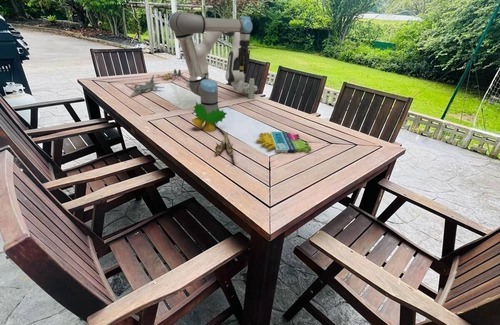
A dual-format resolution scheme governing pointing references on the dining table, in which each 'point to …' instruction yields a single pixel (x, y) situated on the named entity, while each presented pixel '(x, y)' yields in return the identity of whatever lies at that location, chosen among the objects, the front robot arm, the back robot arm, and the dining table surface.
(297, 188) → the dining table surface
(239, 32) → the back robot arm
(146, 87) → the airplane
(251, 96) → the jar
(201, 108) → the ornament
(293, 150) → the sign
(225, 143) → the jawbone
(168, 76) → the toy
